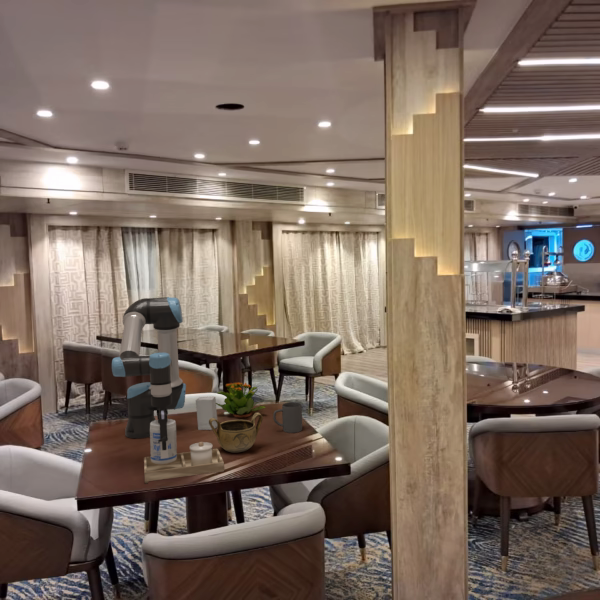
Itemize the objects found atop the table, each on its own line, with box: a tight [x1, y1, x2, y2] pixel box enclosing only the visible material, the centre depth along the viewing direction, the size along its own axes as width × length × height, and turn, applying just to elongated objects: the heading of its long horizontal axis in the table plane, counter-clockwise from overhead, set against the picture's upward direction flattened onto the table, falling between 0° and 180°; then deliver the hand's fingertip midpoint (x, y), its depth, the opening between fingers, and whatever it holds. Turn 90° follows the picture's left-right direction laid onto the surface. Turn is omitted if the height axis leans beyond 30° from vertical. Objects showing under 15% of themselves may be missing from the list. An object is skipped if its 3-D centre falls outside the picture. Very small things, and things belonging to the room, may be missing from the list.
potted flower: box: [216, 381, 267, 419], centre depth 283 cm, size 25×24×18 cm
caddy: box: [143, 448, 225, 485], centre depth 209 cm, size 17×28×4 cm, turn 106°
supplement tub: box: [149, 418, 178, 464], centre depth 206 cm, size 10×10×15 cm
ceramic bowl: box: [209, 411, 264, 454], centre depth 229 cm, size 22×17×15 cm
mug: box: [272, 401, 303, 434], centre depth 255 cm, size 14×9×12 cm
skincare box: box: [195, 396, 218, 431], centre depth 263 cm, size 8×6×15 cm
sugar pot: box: [189, 441, 213, 466], centre depth 211 cm, size 9×9×9 cm
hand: (164, 453), depth 207 cm, fingers closed on supplement tub, 9 cm apart
